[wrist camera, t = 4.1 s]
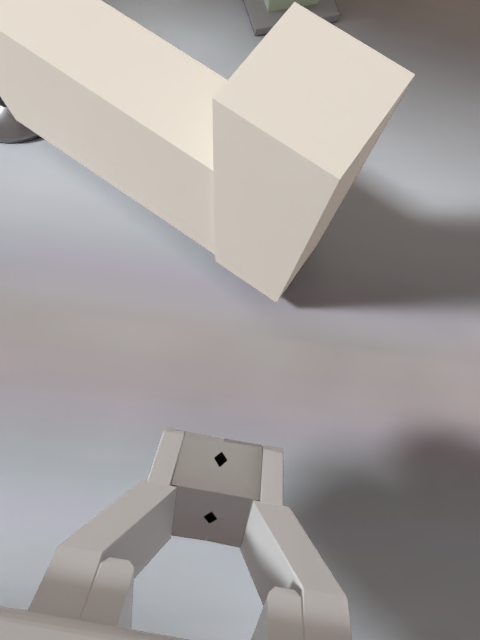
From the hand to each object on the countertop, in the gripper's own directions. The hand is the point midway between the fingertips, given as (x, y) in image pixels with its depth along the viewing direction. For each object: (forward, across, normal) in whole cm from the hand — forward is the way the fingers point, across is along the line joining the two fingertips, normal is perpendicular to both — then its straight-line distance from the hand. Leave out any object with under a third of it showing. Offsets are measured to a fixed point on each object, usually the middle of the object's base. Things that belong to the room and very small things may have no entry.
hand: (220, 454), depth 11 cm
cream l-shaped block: (+13, +5, -3) cm, 15 cm away
